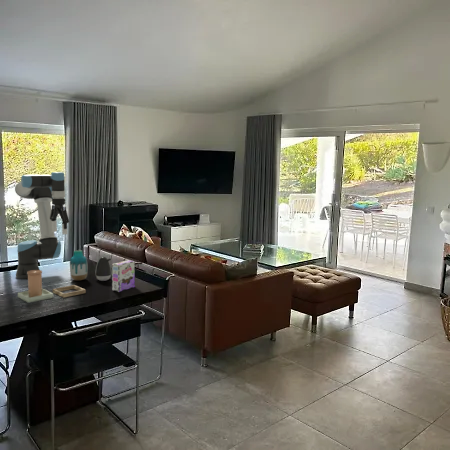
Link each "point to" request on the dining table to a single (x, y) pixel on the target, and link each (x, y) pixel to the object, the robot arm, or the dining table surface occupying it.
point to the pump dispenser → (103, 269)
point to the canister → (34, 283)
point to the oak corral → (80, 291)
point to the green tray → (28, 299)
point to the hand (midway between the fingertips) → (59, 232)
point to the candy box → (123, 275)
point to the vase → (78, 265)
